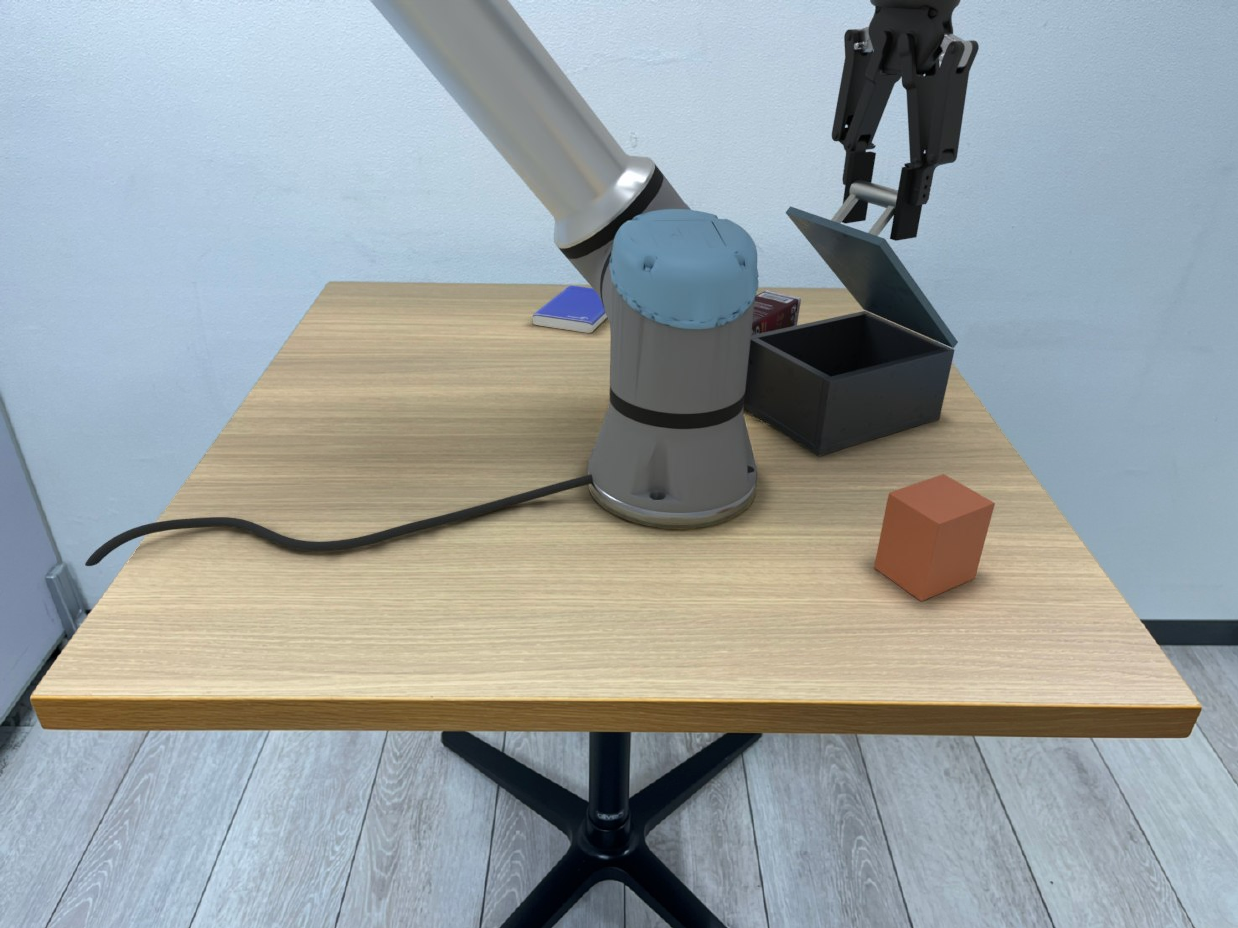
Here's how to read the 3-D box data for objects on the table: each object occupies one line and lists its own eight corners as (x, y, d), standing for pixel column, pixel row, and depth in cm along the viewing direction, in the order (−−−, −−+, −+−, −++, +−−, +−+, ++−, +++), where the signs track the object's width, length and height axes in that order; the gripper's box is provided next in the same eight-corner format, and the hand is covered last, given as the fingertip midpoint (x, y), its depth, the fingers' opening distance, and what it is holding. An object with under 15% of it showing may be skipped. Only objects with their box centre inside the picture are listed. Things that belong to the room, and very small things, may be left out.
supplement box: (795, 366, 107) (724, 413, 96) (759, 355, 110) (686, 400, 99) (804, 296, 103) (731, 337, 92) (766, 286, 106) (691, 326, 95)
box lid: (879, 245, 80) (925, 184, 80) (785, 212, 89) (826, 158, 89) (953, 348, 92) (994, 295, 92) (863, 309, 101) (900, 261, 101)
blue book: (592, 321, 114) (623, 292, 125) (532, 313, 116) (568, 284, 127) (592, 333, 115) (623, 303, 125) (532, 324, 117) (568, 295, 128)
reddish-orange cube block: (921, 601, 69) (939, 524, 65) (873, 567, 72) (888, 492, 69) (975, 578, 72) (995, 502, 68) (926, 546, 75) (943, 473, 72)
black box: (818, 456, 88) (830, 381, 84) (738, 405, 98) (745, 336, 94) (939, 419, 96) (955, 349, 92) (854, 375, 106) (865, 310, 102)
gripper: (1047, -42, 71) (983, 249, 83) (873, -46, 85) (838, 203, 97) (982, -44, 68) (924, 260, 79) (812, -48, 82) (783, 211, 93)
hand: (877, 228), depth 88 cm, fingers closed on box lid, 6 cm apart
